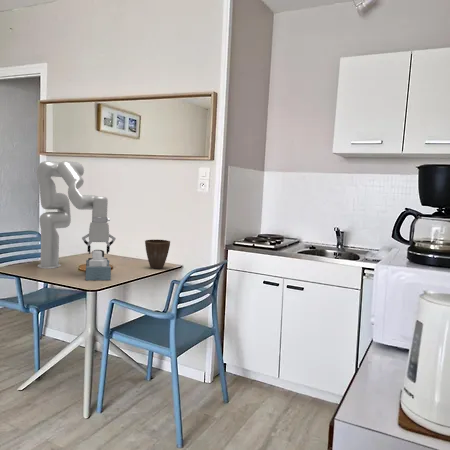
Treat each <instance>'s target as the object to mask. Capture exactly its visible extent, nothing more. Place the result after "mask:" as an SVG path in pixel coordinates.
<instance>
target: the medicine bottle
mask: <svg viewBox="0 0 450 450" xmlns="http://www.w3.org/2000/svg"><path fill="white" fill-rule="evenodd" d="M91 258H93V259H91V260H89V266H106V265H107V260H108V258H107V259H103V258H105V251H104V250H102V249H94V250H92V252H91Z"/></svg>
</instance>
